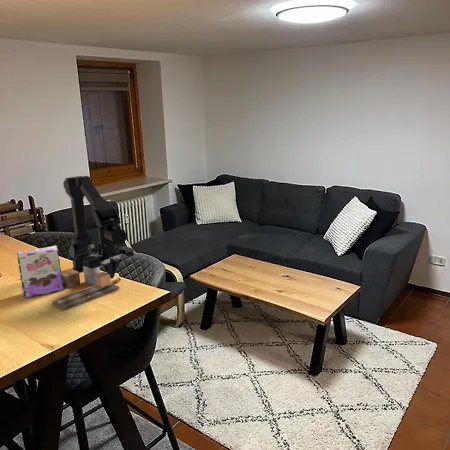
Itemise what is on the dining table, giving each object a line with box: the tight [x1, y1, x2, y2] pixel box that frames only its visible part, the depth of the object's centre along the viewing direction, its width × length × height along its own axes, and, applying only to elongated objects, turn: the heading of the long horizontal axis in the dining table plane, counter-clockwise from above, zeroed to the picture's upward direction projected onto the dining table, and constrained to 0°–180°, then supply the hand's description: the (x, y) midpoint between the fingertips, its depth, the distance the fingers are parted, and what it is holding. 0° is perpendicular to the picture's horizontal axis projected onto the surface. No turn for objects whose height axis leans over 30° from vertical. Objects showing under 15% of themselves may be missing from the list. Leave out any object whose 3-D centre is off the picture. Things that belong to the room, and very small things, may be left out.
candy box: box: [16, 245, 65, 299], centre depth 155 cm, size 14×6×16 cm, turn 117°
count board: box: [51, 281, 120, 311], centre depth 152 cm, size 22×8×2 cm, turn 138°
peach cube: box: [94, 271, 112, 288], centre depth 156 cm, size 4×4×4 cm
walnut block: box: [61, 268, 81, 289], centre depth 163 cm, size 5×5×5 cm
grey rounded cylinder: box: [82, 266, 101, 287], centre depth 164 cm, size 6×6×7 cm
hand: (111, 278), depth 159 cm, fingers closed
